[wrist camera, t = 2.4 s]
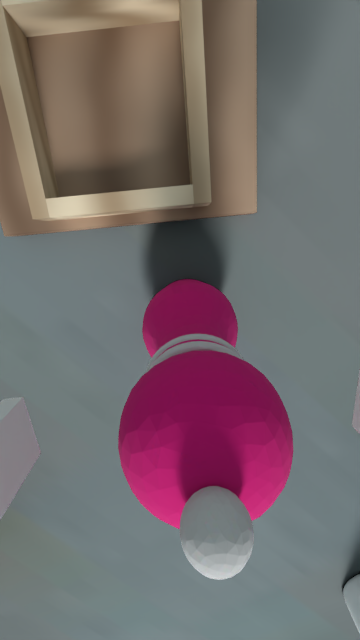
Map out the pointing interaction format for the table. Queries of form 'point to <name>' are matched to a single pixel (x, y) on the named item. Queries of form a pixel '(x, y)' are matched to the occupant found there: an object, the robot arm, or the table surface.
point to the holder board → (126, 112)
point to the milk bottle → (353, 598)
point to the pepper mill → (203, 429)
